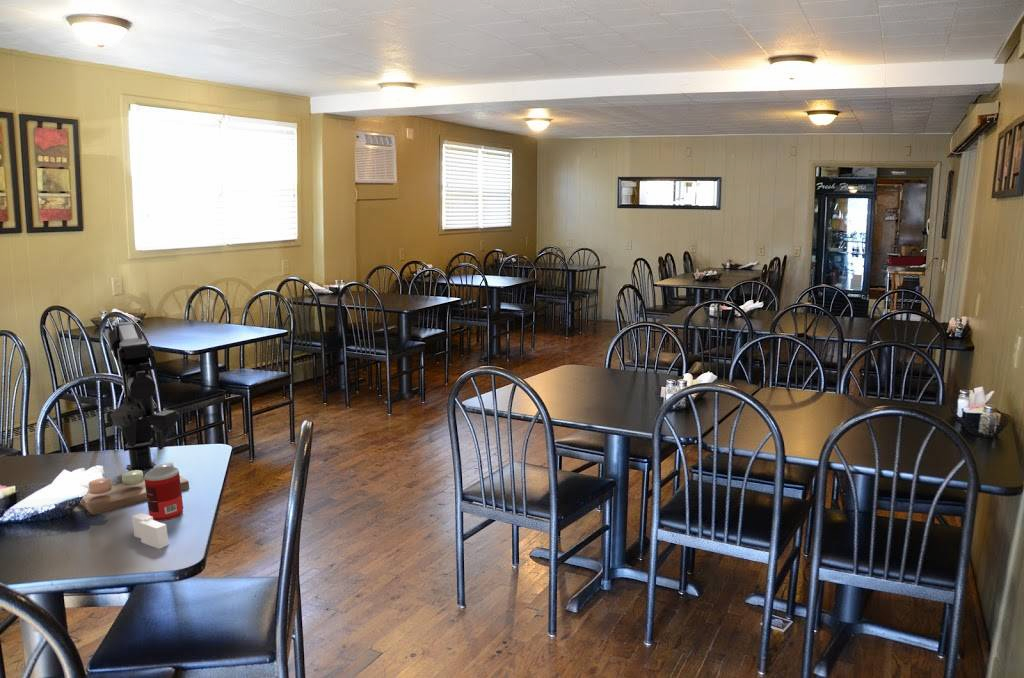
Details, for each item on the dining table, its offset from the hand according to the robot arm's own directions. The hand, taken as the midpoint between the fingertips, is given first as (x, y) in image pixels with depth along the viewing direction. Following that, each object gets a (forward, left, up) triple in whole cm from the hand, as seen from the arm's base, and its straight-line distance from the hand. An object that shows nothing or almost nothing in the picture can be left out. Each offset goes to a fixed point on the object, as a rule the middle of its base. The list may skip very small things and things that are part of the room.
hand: (146, 447), depth 212 cm
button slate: (-2, +4, -9) cm, 11 cm away
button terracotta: (-2, -12, -9) cm, 15 cm away
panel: (-2, -4, -13) cm, 13 cm away
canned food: (+18, -3, -13) cm, 22 cm away
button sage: (-2, -4, -9) cm, 10 cm away
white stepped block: (+30, -10, -13) cm, 34 cm away
